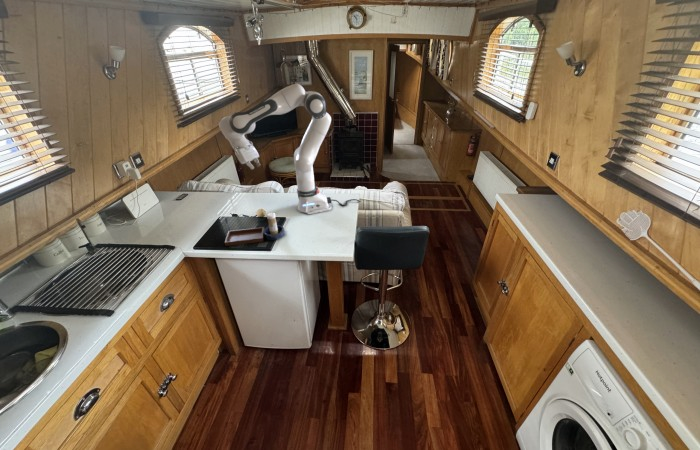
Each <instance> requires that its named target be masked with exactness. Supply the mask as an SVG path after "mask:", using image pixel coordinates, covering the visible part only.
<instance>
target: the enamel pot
mask: <svg viewBox="0 0 700 450" xmlns="http://www.w3.org/2000/svg"><path fill="white" fill-rule="evenodd" d="M277 228H278V231H280V232H278V234H276V235H271V234H269V233H270V228H269V226H267V227H266V228H264V229H265V230H264V239H266V240H268V241H277V240H279V239H282V238H283V237H284V236H285V228H284V226H283V225H279V224H277Z"/></svg>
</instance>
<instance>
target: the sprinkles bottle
mask: <svg viewBox="0 0 700 450" xmlns="http://www.w3.org/2000/svg"><path fill="white" fill-rule="evenodd" d="M266 218H267V222H268V227H269V228H270V232H269V233H270V235H276V234H278V233H279V230H278V228H277V225H278V223H277V218H276V213H275V212H268V213H267V214H266Z"/></svg>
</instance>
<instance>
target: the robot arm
mask: <svg viewBox="0 0 700 450" xmlns="http://www.w3.org/2000/svg"><path fill="white" fill-rule="evenodd" d="M297 107H304V108H305V110H306V111H307V112H308V113H309V114H310V115H311V121H310V122H309V124H308V125H307V128H306V130H305V132H304V135H303V137H302V139H301V143H300V145H299V146H298V147H297V148H296V149H295V151H294V153H293V164H294V169H295V178H296V187H297V189H296V192H297V193H296V195H297V198H298V203H297V204H298V205H297V211H299V212H300V213H305V214H306V215H313V214H318V213H323V212H328V211H331V210H332V207H333V206H332V202H337V203H338V204H339V205H340V206H342V207H346V206H348V202H351V201H357V202H359V203H362V201H361V200H360V199H357V198H351V199H348V200H346V201H345V204H342V203H341V202H340V201H339V200H337V199H331V197H330V196H326V195H325V194H323V193H322V192H320V190H319V187H318V186H316V184H315V175H314V174H315V173H314V167H313V165H314V163H315V161H316V158H317V156H318V153H319V150H320V147H321V145H322V143H323V141H324V140H325V137H326V136H327V133H328V131H329V129H330V126H331V123H332V116H331V115H330V114H329V113H328V112H327V105H326V101H325V98H324V96H323V95H321V93H319V92H318V91H315V90H305V88H304V87H303V86H302V84H300V83H294V84H291V85H287V86H286V87H284V88H282V89H281V90H278V91H277V92H275V93H274V94H272V95H271V96H269V98H267V99H265V100H264V101H263V102H261V103H259V104H257V105H256V106H254V107H252V108H250V109H248V110H245V111H237V112H234V113H233V114H231V115H225V116H224V117H222V118H221V119H220V120H219V122H218V128H219V130H220V132H221V133H222V135H223V136H224V138H225V139H226V140H227V141H228V142H229V144H230V146H231V148H232V149H233V151H234V154H235V156H236V158H237V160H238V162H239V163H240V164H241V165H246V166H247V167H248V168H250V170H254V169H255V168H256V167H257V168H259V167H261V163H260V160H259V158H260V154H259V152H258V150H257V149H256V147H255V146H254V143H253V142H252V141H251V140H249V139H248V138H246V136H245V135H248V134H251V133H253V132H254V131H255V129H256V125H257V124H256V122H258V121H260V120H262V119H265V118H266V117H269V116H275V115H276V116H277V115H278V116H279V115H285V114H287V113H289V112H291V111H293V110H294V109H296V108H297ZM252 161H253V162H254V163H255V166H256V167H255V166H254V165H253V164H252V163H251V162H252Z"/></svg>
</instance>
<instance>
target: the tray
mask: <svg viewBox="0 0 700 450" xmlns="http://www.w3.org/2000/svg"><path fill="white" fill-rule="evenodd" d="M265 229H266V228H265V226H261V227H252V228H251V227H250V228H243V229H233V230H228V231H227V234H226V237H225V240H224V245H225V247H231V246H237V245H238V246H239V245H246V244H247V245H248V244H255V243H263V242H264V240H265V236H264V230H265Z"/></svg>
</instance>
